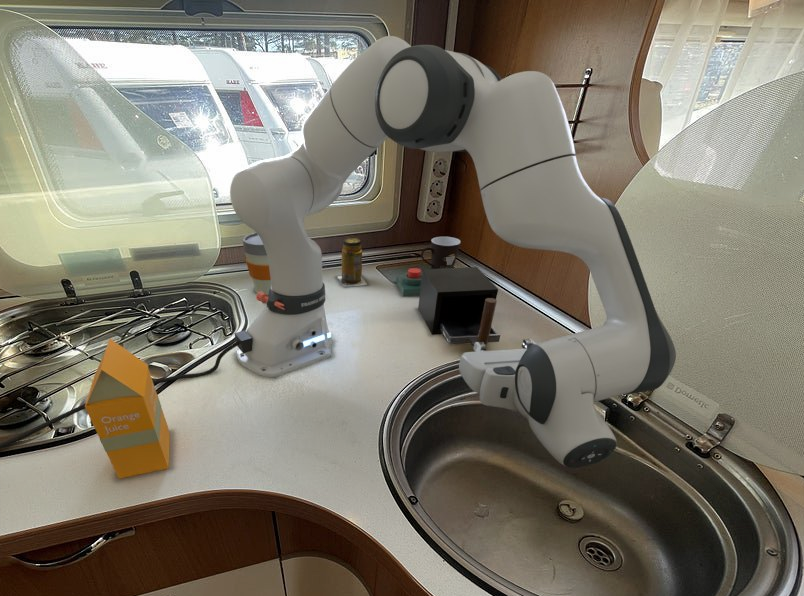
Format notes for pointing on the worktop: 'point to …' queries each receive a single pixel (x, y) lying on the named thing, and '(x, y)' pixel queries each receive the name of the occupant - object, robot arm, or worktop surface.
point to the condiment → (351, 263)
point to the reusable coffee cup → (257, 262)
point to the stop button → (414, 273)
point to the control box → (408, 285)
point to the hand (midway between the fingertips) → (502, 343)
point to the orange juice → (128, 414)
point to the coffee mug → (443, 252)
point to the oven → (453, 294)
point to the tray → (471, 327)
